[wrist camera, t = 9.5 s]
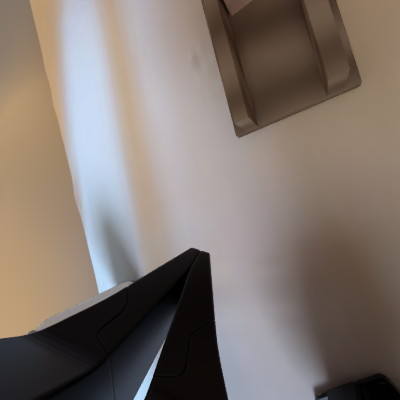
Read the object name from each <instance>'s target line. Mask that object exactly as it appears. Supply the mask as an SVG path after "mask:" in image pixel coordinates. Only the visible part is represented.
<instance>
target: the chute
mask: <svg viewBox="0 0 400 400" xmlns="http://www.w3.org/2000/svg"><path fill="white" fill-rule="evenodd" d="M201 1H202V5H203V9H204V13H205V16H206V20H207V24H208V28H209V32H210V36H211V40H212V44H213V47H214V51H215V55H216V59H217V63H218V67H219V71H220V75H221V78H222V82H223V86H224V90H225V94H226V98H227V102H228V106H229V109H230V113H231V117H232V121H233V125H234V129H235V133H236V136H237V137H239V138H240V137H242V136H244V135H247V134H249V133H251V132H254V131H256V130H258V129H261V128H263V127H265V126H268V125H270V124H272V123H275V122H277V121H279V120H282V119H284V118H286V117H289V116H291V115H293V114H296V113H298V112H301V111H303V110H305V109H308V108H310V107H312V106H315V105H317V104H319V103H322V102H324V101H326V100H329V99H331V98H333V97H336V96H338V95H340V94H343V93H345V92H347V91H350V90H352V89H354V88H357V87H359V86H360V85H361V82H362V81H361V78H360V74H359V71H358V68H357V65H356V62H355V59H354V56H353V53H352V50H351V46H350V43H349V40H348V37H347V34H346V31H345V28H344V25H343V21H342V18H341V15H340V12H339V9H338V6H337V3H336V0H252V1H251V2H250V3H248V4H247V5H246V6H244V7H243V8H242V9H241V10H239V11H238V12H237V13H235V14H234V15H233V16H231V14H230V12H229V10H228V8H227V6H226V4H225V2H224V0H201Z"/></svg>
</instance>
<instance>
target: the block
mask: <svg viewBox="0 0 400 400" xmlns="http://www.w3.org/2000/svg"><path fill="white" fill-rule="evenodd" d="M251 1H252V0H224V2H225V4H226V6H227V8H228V10H229V12H230V14H231V16H233V15H234V14H235V13H237V12H238V11H239V10H241V9H242V8H243V7H244V6H246V5H247V4H248V3H250V2H251Z"/></svg>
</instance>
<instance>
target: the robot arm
mask: <svg viewBox="0 0 400 400" xmlns="http://www.w3.org/2000/svg"><path fill="white" fill-rule="evenodd" d="M166 336H167V337H166ZM165 338H166V340H165ZM164 340H165V343H164V346H163V348H162V351H161V354H160V357H159V360H158V363H157V366H156V369H155V372H154V375H153V378H152V381H151V384H150V386H149V389H148V392H147V394H146V397H145V399H144V400H228V397H227V392H226V387H225V382H224V377H223V373H222V368H221V363H220V357H219V351H218V344H217V336H216V325H215V314H214V302H213V289H212V277H211V264H210V254H209V253H207V252H204V251H200V250H198V249H195V248H190V249H188V250H187V251H185V252H183V253H182V254H180V255H178V256H177V257H175V258H173V259H172V260H170V261H168V262H167V263H165V264H163V265H162V266H160V267H158V268H157V269H155V270H153V271H152V272H150V273H148V274H147V275H145V276H143V277H142V278H140V279H138V280H137V281H135V282H133V283H132V284H130V285H129V286H128V287H125V288H123V289H122V290H120V291H118V292H117V293H115V294H113V295H111V296H110V297H108V298H106V299H104V300H102V301H100V302H98V303H96V304H94V305H92V306H91V307H89V308H86V309H84V310H82V311H80V312H78V313H76V314H74V315H72V316H70V317H68V318H66V319H64V320H62V321H60V322H58V323H55V324H53V325H51V326H49V327H47V328H45V329H42V330H40V331H37V332H34V333H31V334H28V335H24V336H18V337H10V338H2V339H0V400H133V399H134V397H135V396H136V394H137V392H138V390H139V388H140V386H141V384H142V382H143V380H144V378H145V376H146V374H147V373H148V371H149V369H150V367H151V365H152V363H153V361H154V359H155V357H156V355H157V353H158V352H159V350H160V348H161V346H162V344H163V342H164ZM380 381H383V382H385V383H386V384H381V383H380ZM315 400H400V391H399V390H398V389H397V387H396V386H395V385H394V384H393V383H392V382H391V381H390V380H389V379H388V378H387V377H386V376H384V375H382V374H375V375H373V376H370V377H367V378H365V379H362V380H359V381H356V382H354V381H353V382H350V383H347V384H345V385H342V386H339V387H337V388H334V389H331V390H329V391H328V392H327V393H324V394H321V395H319V396H317V397H316V398H315Z"/></svg>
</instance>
